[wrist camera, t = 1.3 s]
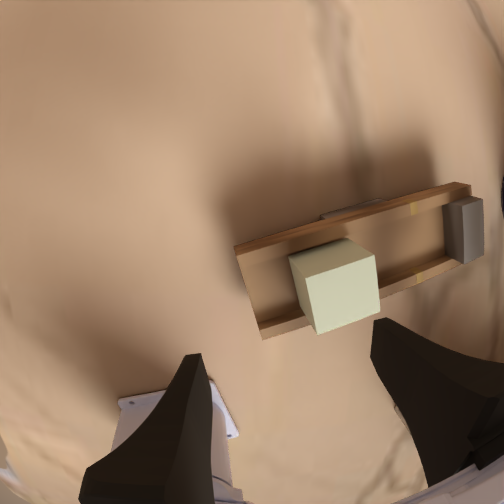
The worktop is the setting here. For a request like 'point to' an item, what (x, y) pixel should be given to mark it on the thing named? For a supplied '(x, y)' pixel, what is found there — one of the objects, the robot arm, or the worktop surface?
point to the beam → (367, 248)
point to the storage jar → (502, 197)
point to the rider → (336, 284)
